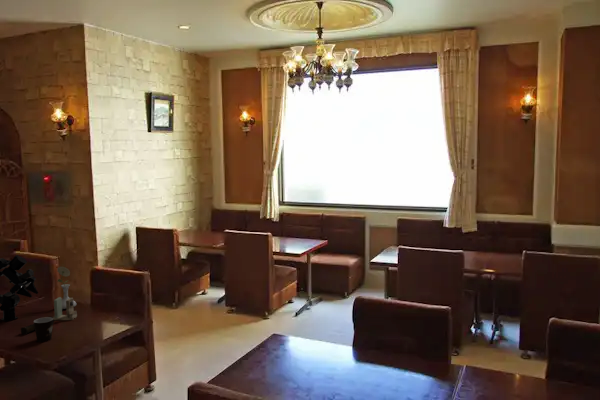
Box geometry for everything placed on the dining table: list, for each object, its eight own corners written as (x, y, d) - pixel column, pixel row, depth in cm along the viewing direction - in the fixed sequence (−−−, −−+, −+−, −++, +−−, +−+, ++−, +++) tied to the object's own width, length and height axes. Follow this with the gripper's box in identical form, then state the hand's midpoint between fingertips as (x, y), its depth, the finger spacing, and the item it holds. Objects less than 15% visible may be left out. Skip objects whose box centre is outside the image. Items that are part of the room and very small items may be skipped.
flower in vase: (80, 306, 303) (79, 266, 301) (63, 311, 294) (61, 269, 291) (67, 303, 310) (66, 263, 308) (50, 308, 301) (48, 267, 298)
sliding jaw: (53, 318, 278) (52, 300, 277) (58, 314, 284) (57, 297, 283) (57, 317, 278) (56, 300, 277) (62, 314, 284) (61, 297, 283)
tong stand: (50, 320, 278) (49, 301, 277) (55, 316, 284) (54, 297, 283) (72, 319, 278) (71, 300, 278) (76, 316, 284) (76, 297, 284)
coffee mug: (40, 344, 243) (39, 324, 242) (30, 340, 247) (29, 321, 246) (63, 336, 252) (62, 317, 251) (53, 333, 257) (52, 314, 256)
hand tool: (25, 335, 255) (25, 326, 254) (20, 334, 256) (20, 325, 256) (57, 324, 272) (57, 316, 272) (52, 323, 274) (51, 315, 273)
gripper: (14, 269, 268) (36, 289, 270) (31, 262, 287) (52, 280, 288) (0, 284, 269) (22, 303, 270) (18, 276, 287) (38, 294, 289)
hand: (34, 295), depth 279 cm, fingers open, 7 cm apart
